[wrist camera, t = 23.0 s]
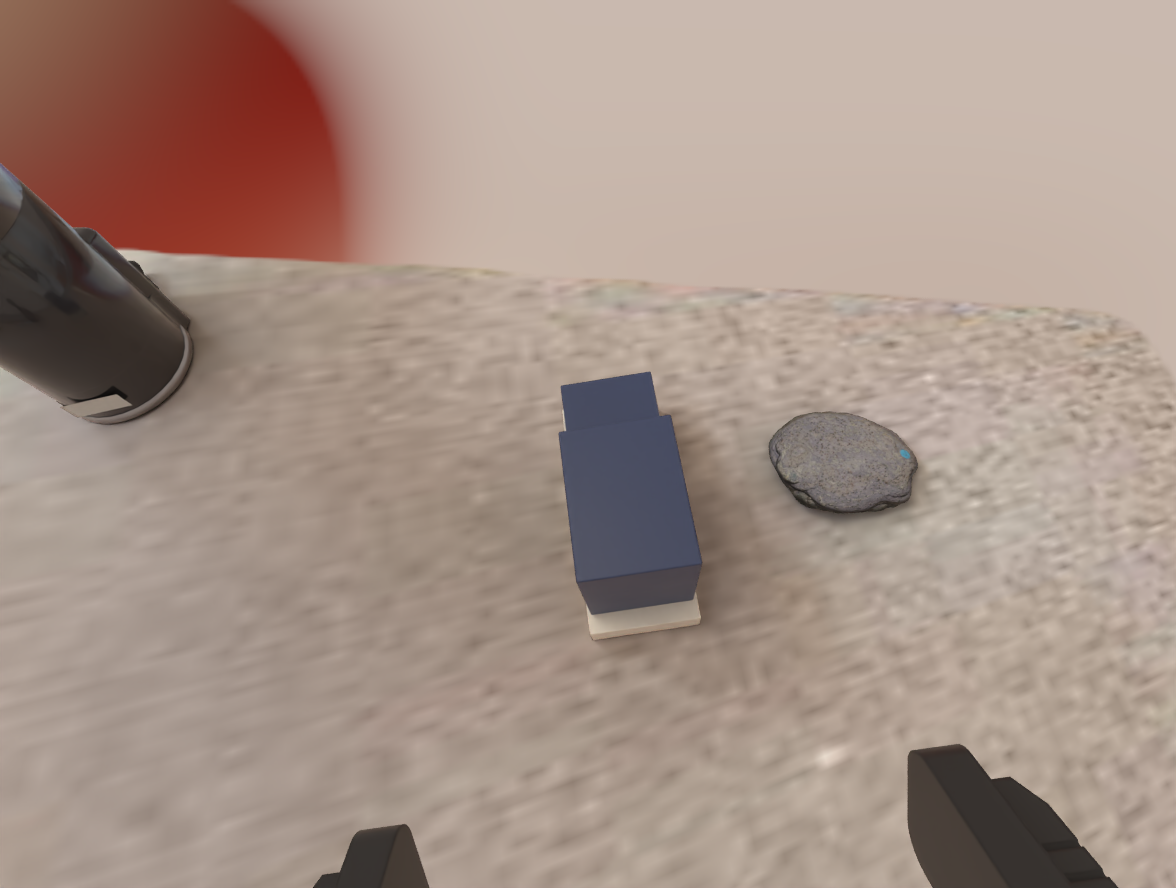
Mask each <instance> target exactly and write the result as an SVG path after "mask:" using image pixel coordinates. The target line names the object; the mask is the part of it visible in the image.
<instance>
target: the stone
mask: <svg viewBox="0 0 1176 888" xmlns="http://www.w3.org/2000/svg"><path fill="white" fill-rule="evenodd" d="M769 455H770V459H771V461H772V464H773V465H774V467H775V469H776V471H777V472H778V475H779V477H780V478H781V480H782V482H783V483H784V484H785V485H786V487H788V488H789V489H790V491H791V492H792V494H793V495H794V497H795V498H796V500H797V501H798V502H800V503H801V504H803V505H805V506H807V507H809V508H818V509H821V510H825V511H831V512H835V513H859V512H866V511H881V510H884V509H886V508H890V507H895V506H898V505H899V504H902V503H905V502H906V501H908V499H909V498H910V496H911V482H912V476H913V474H914V473H915V472H916V470H917V468H918V463H917V460H916V457H915V456H914V454H913V452H912V451H911V450H910V449H909V448H908V447H907V446H906V444H905V443H904V442H903V441H902V439H901V438H899V436H898V435H897V434H896V433H894V432H893V431H891V430H888V429H886V428H885V427H883V426H880V425H878V424H876V423H874V422H872V421H869V420H867V419H865V418H863V417H860V416H855V415H852V414H849V413H835V412H822V413H821V412H815V413H809V414H805V415H800V416H797V417H795V418H793V419H792V420H791V421H789V422H788V423H787V424H785V425H784V426H783V427H782V428H781V429H779V430H778V431H777V432H776V433H775V435H774V436H773V438H772V439H771V440H770V443H769Z"/></svg>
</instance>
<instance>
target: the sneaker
mask: <svg viewBox="0 0 1176 888" xmlns="http://www.w3.org/2000/svg"><path fill="white" fill-rule="evenodd" d="M561 393H562V401H563V409H564V410H562V415H563V423H564V431H563V432H559V441H560V449H561V458H562V466H563V475H564V483H565V491H566V500H567V508H568V516H569V525H570V533H571V541H572V550H573V558H574V567H575V575H576V582H577V584H578V586H579V589H580V591H581V593H582V595H583V597H584V600H585V602H586V608H587V616H588V624H589V632H590V635H591V637H592V639H593V640H598V639H605V638H611V637H618V636H625V635H632V634H638V633H645V632H652V631H659V630H666V629H672V628H679V627H686V626H693V625H698V624H699V622H700V619H701V615H700V610H699V605H698V600H697V595H696V591H695V590H696V586H697V582H698V578H699V574H700V570H701V566H702V559H701V554H700V550H699V545H698V540H697V536H696V531H695V526H694V521H693V517H692V512H691V507H690V503H689V498H688V493H687V489H686V484H685V479H684V475H683V470H682V465H681V461H680V456H679V451H678V447H677V442H676V437H675V433H674V428H673V423H672V418H671V416H670V415H665V416H660V414H659V410H658V405H657V400H656V396H655V391H654V386H653V381H652V376H651V372H645V373H638V374H632V375H626V376H620V377H613V378H607V379H601V380H595V381H588V382H582V383H576V384H569V385H563V386H561Z"/></svg>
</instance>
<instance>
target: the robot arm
mask: <svg viewBox="0 0 1176 888" xmlns="http://www.w3.org/2000/svg"><path fill="white" fill-rule="evenodd" d="M189 322H190V319H189V318H188V317H187V316H186V315H185V314H184V313H183V312H181V311H180V310H179V309H178V308H177V307H176V306H175V305H174V304H173V303H172V302H171V301H170V300H169V299H168V298H167V297H166V296H164V295H163V294H162V293H161V292H160V291H159V288H158V287H157V286H156V285H155V284H154V283H153V282H152V281H151V280H150V279H149V278H148V277H146V276H145V275H144V272H143V270H142V269H141V267H140V265H139V264H138V263H136V262H135V261H127V260H126V259H125V258H124V257H123V256H122V255H121V254H120V253H119V252H118V251H117V250H116V249H115V248H113V247H112V246H111V245H110V244H109V243H108V242H107V241H106V240H105V239H104V238H103V237H102V236H101V235H100V234H98V233H97V232H96V231H95V230H93V229H90V228H72V227H71V226H70V225H69V224H68V223H67V222H65V221H64V220H63V219H62V218H61V217H60V216H59V215H58V214H56V213H55V212H54V211H53V210H52V209H51V208H50V207H49V206H48V205H47V204H45V203H44V202H43V201H42V200H41V199H40V198H39V197H38V196H36V195H35V194H34V193H33V192H32V191H31V190H30V189H29V188H28V187H27V186H25V185H24V184H23V183H22V182H21V181H20V180H19V179H18V178H16V176H14V175H13V174H12V173H11V172H10V171H9V170H7V169H6V168H5V167H4V166H3V165H2V164H1V163H0V367H1V368H3V369H4V370H6V371H8V372H9V373H11V374H13V375H14V376H16V377H18V378H19V379H21V380H23V381H24V382H26V383H28V384H29V385H31V386H33V387H34V388H36V389H38V390H39V391H41V392H43V393H44V394H46V395H48V396H49V397H51V398H53V399H55V400H56V401H57V402H58V403H60V404H62V405H63V407H61V408H62V409H64V410H66V411H67V412H69V413H71V414H72V415H74V416H76V417H82V418H84V419H86V420H88V421H91V422H95V423H102V424H110V423H118V422H123V421H127V420H130V419H133V418H136V417H138V416H140V415H142V414H144V413H146V412H148V411H150V410H151V409H153V408H155V407H156V406H157V405H159V404H160V403H161V402H163V401H164V400H165V399H166V398H167V397H168V396H169V395H171V393H172V392H173V391H174V390H175V389H176V388H177V387H178V385H179V384H180V383H181V381H182V380H183V378H184V376H185V375H186V373H187V371H188V368H189V366H190V363H191V359H192V350H193V348H192V341H191V338H190V335H189V334H188V332H187V326H188V324H189ZM908 829H909V834H910V838H911V842H912V845H913V848H914V851H915V854H916V856H917V859H918V861H919V863H920V865H921V867H922V869H923V871H924V873H925V875H926V877H927V878H928V880H929V882H930V884H931V886H932V887H933V888H1118V887H1117V886H1116V885H1115V883H1114V882H1113V881H1112V880H1111V879H1110V877H1106V876H1105V875H1104V873H1103V869H1102V868H1101V867H1100V865H1099V864H1098V863H1097V862H1096V861H1095V859H1094V858H1093V857H1092V856H1091V855H1090V853H1089V852H1088V851H1087V850H1086V849H1085V847H1084V846H1083V847H1081V846H1080V845H1079V843H1078V839H1077V838H1076V837H1075V835H1074V834H1073V833H1072V832H1071V831H1070V829H1069V828H1068V827H1067V826H1066V825H1065V824H1064V822H1063V821H1062V820H1061V819H1060V818H1059V816H1058V815H1057V814H1056V813H1055V812H1054V810H1053V809H1052V808H1051V807H1050V806H1049V804H1047V803H1046V802H1045V801H1043V800H1042V799H1040V798H1039V797H1038V796H1036V795H1035V794H1033V793H1032V792H1031V791H1029V790H1028V789H1026V788H1025V787H1024V786H1022V785H1021V784H1019V783H1018V782H1017V781H1015V780H1014V779H1012V778H1011V777H1005V778H998V779H990V777H989V776H988V775H987V773H986V772H985V771H984V769H983V768H982V767H981V766H980V764H979V763H978V762H977V760H976V759H975V758H974V756H973V755H972V754H971V753H970V752H969V750H968V749H966V748H965V747H964V746H963V745H960V744H955V745H948V746H940V747H933V748H926V749H919V750H912V751H910V753H909V755H908ZM313 888H429V885H428V882H427V879H426V876H425V873H424V870H423V867H422V864H421V861H420V858H419V855H418V852H417V848H416V845H415V842H414V839H413V836H412V833H411V831H410V828H409V827H408V826H407V825H406V824H402V825H395V826H388V827H381V828H374V829H367V830H360V831H358V832H357V833H356V834H355V835H354V837H353V839H352V841H351V843H350V846H349V849H348V851H347V854H346V857H345V860H344V862H343V865H342V868H341V871H340V872H339V873H332V874H325V875H322V876H321V877H320V879H319V880H318V881H317V883H316V884H315V885H314V887H313Z"/></svg>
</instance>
